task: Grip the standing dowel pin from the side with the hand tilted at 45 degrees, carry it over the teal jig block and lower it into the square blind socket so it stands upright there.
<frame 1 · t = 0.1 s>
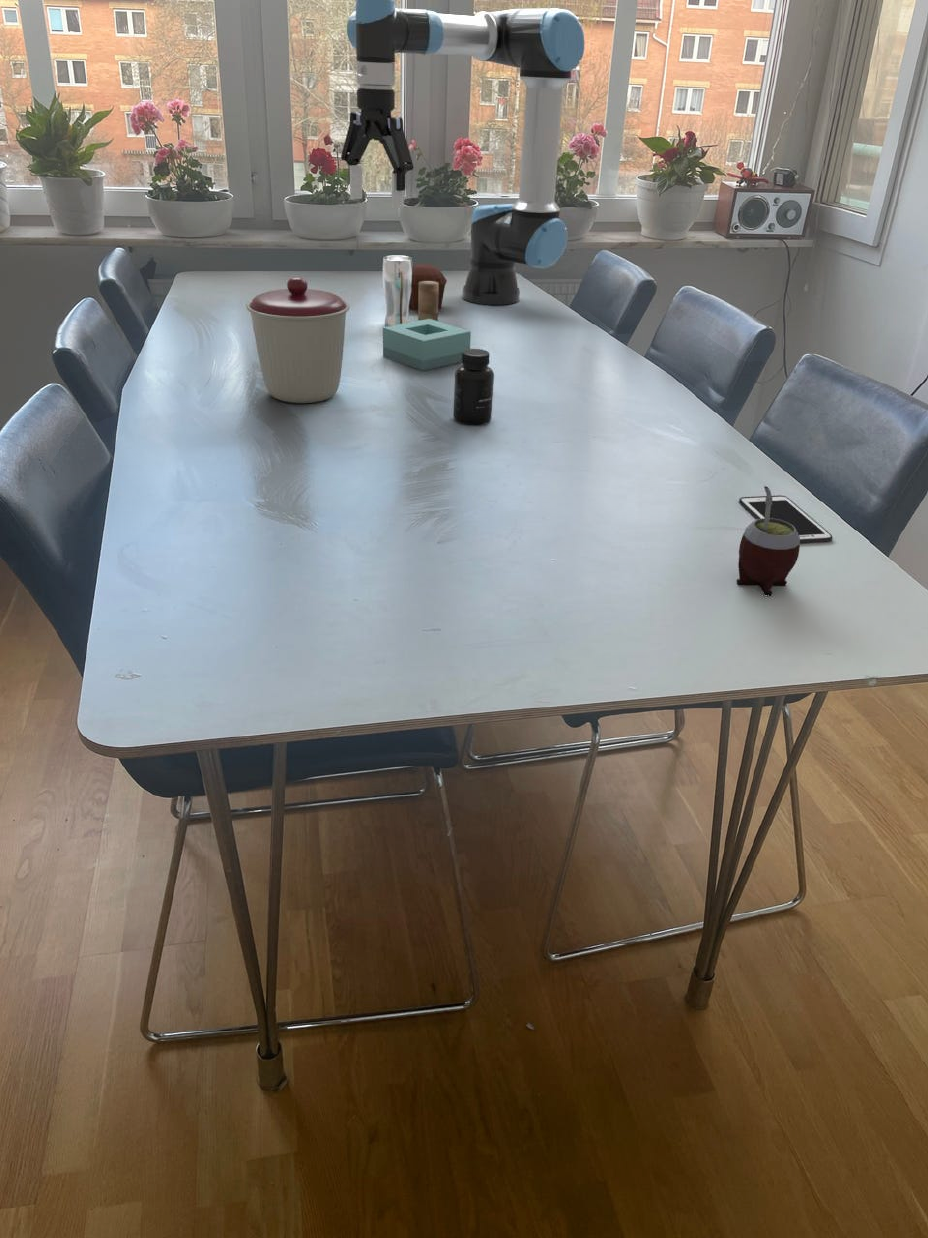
hand: (376, 203, 198), 28 cm above the table, tool pointing down, fingers open, 13 cm apart
supplement bottle: (472, 420, 168), on the table
muffin: (423, 307, 240), on the table
socket block: (426, 357, 200), on the table
dowel pin: (427, 337, 214), on the table
mate gourd: (760, 587, 119), on the table
cell phone: (782, 524, 136), on the table
canister: (303, 396, 176), on the table
beer glass: (397, 325, 223), on the table
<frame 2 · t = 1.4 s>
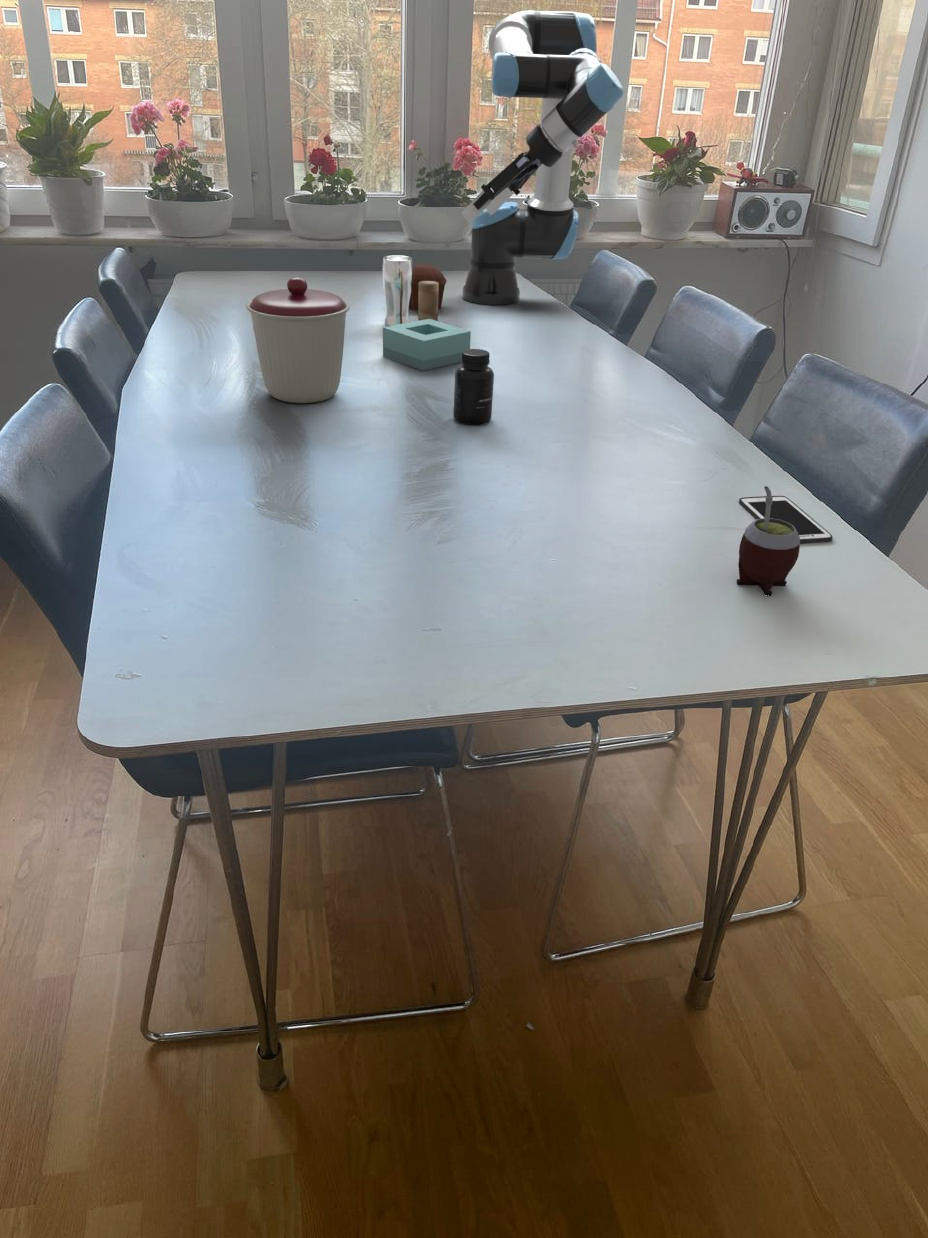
hand: (476, 214, 197), 27 cm above the table, tool tilted 45°, fingers open, 13 cm apart
nothing on the table moved.
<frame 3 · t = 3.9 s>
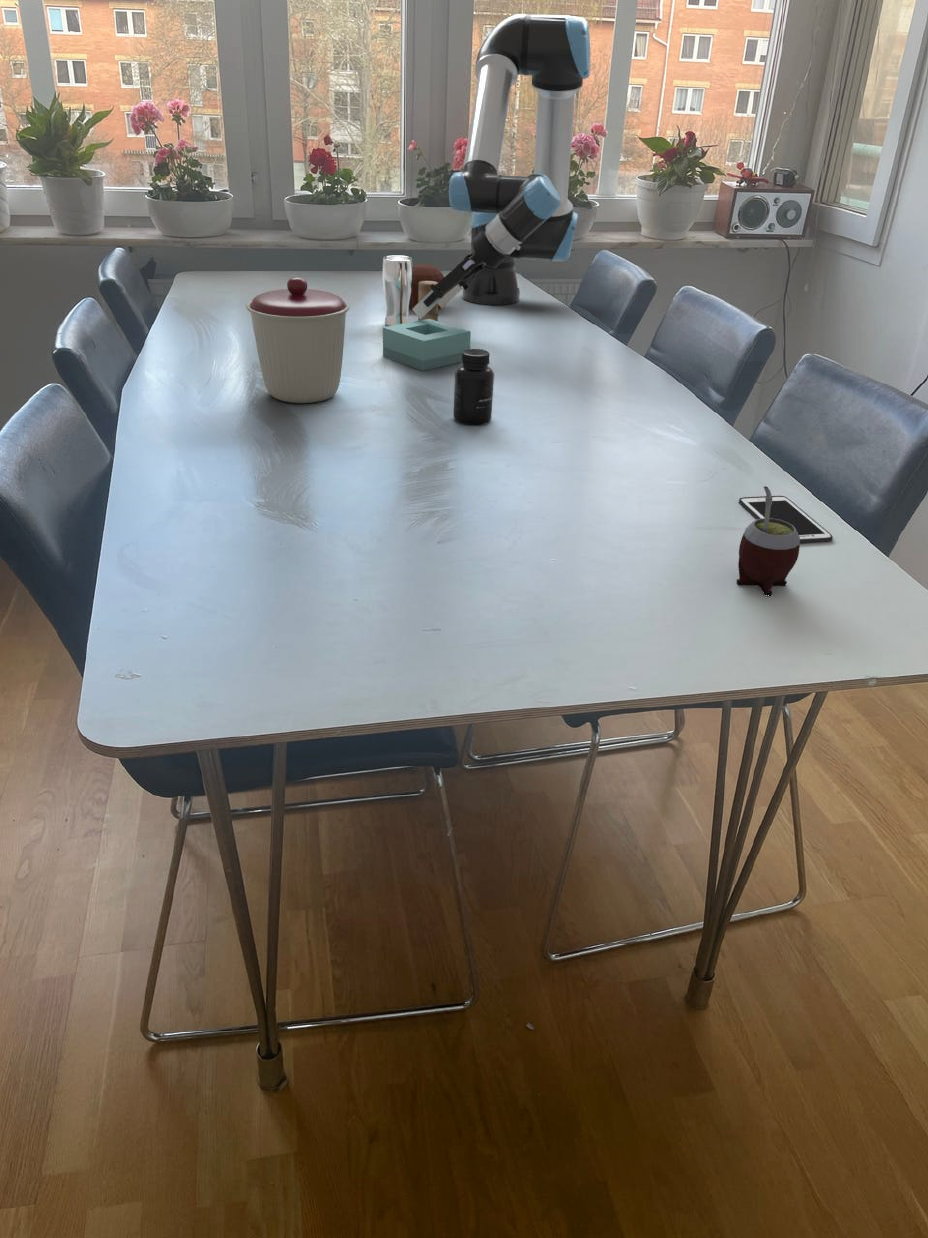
hand: (427, 308, 209), 7 cm above the table, tool tilted 45°, fingers open, 13 cm apart
nothing on the table moved.
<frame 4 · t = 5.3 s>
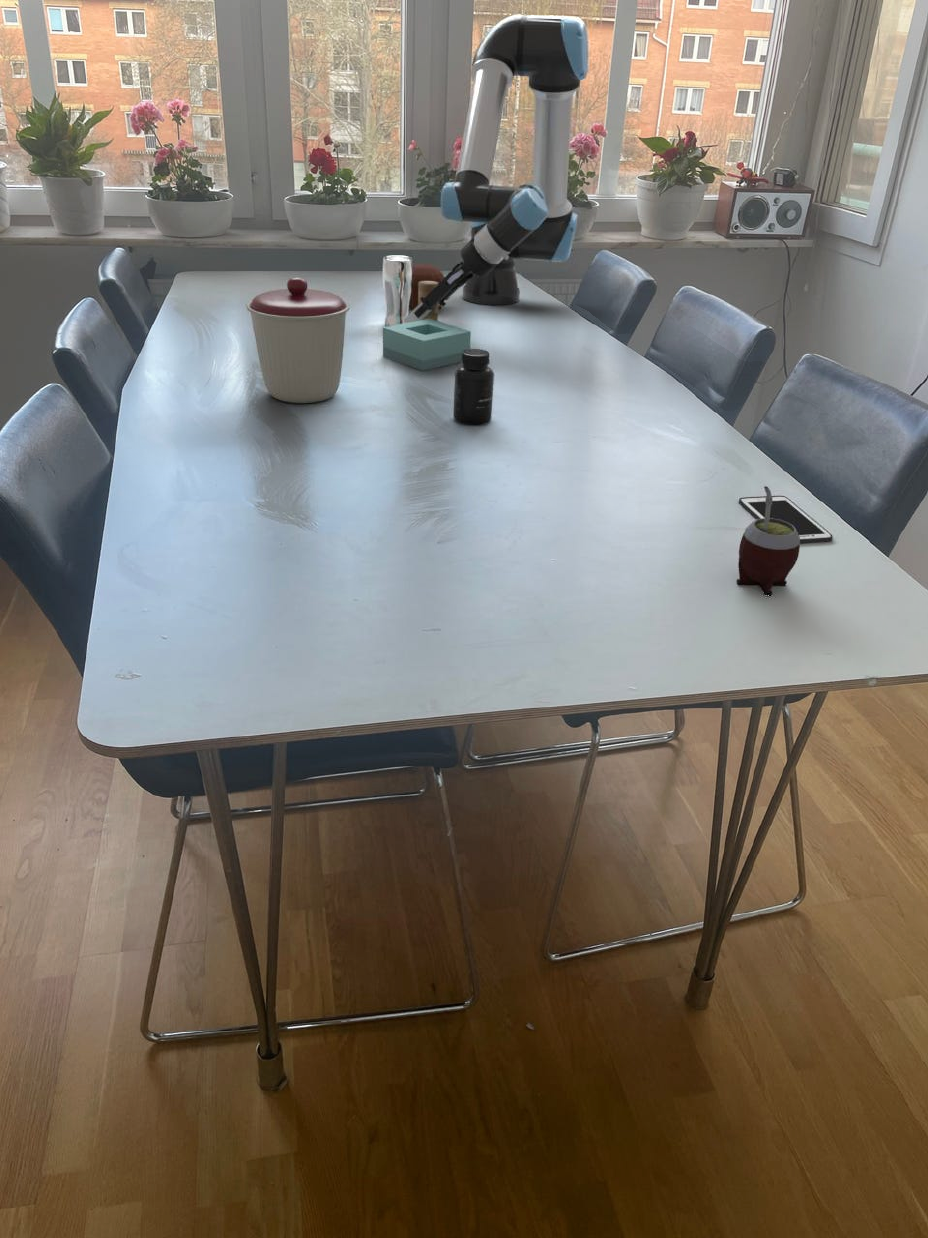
hand: (412, 321, 213), 3 cm above the table, tool tilted 45°, fingers closed on dowel pin, 4 cm apart
dowel pin: (427, 337, 214), on the table, touching gripper
everything else where it was.
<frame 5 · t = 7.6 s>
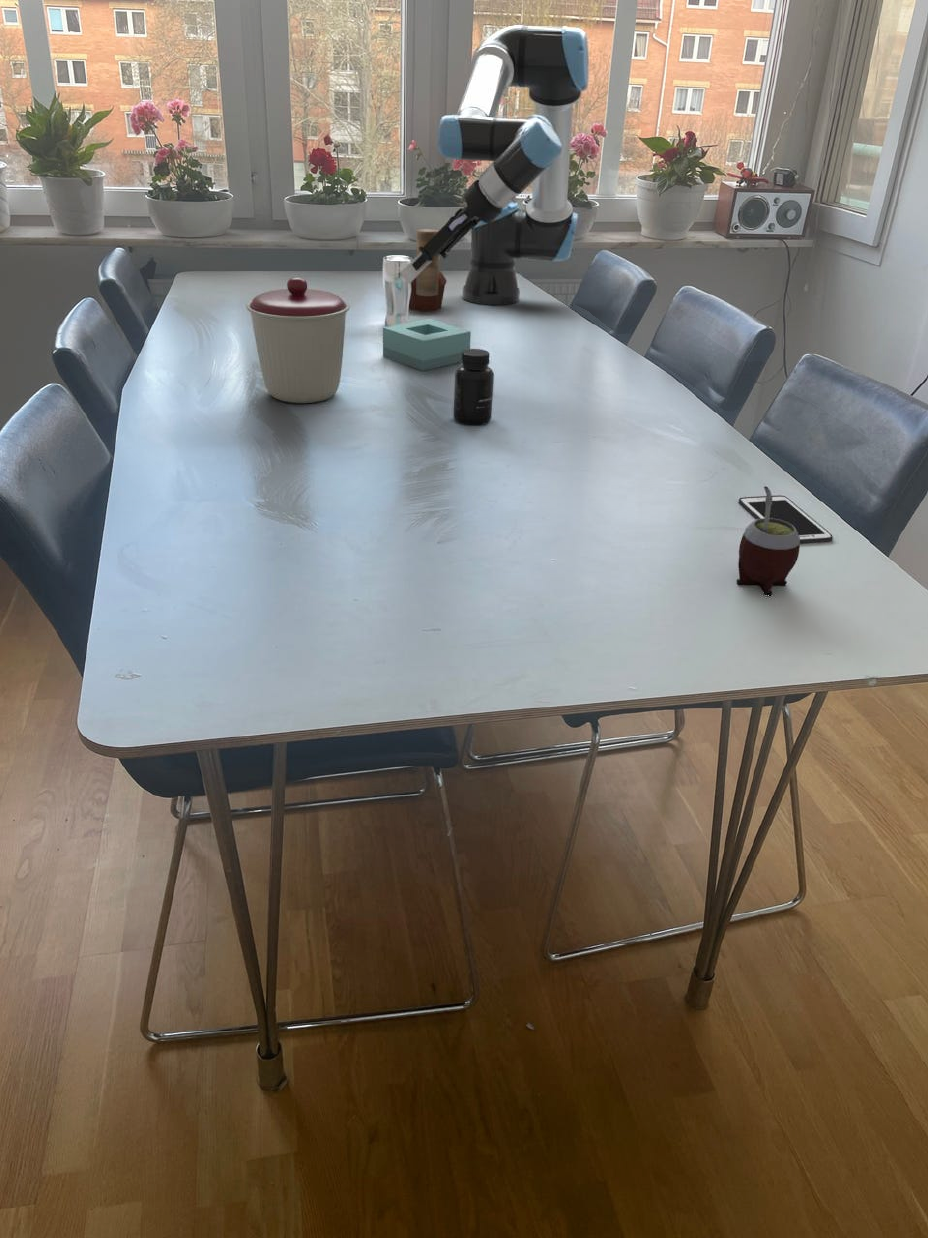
hand: (410, 275, 193), 16 cm above the table, tool tilted 45°, fingers closed on dowel pin, 4 cm apart
dowel pin: (427, 293, 193), point 13 cm above the table, touching gripper
everything else where it was.
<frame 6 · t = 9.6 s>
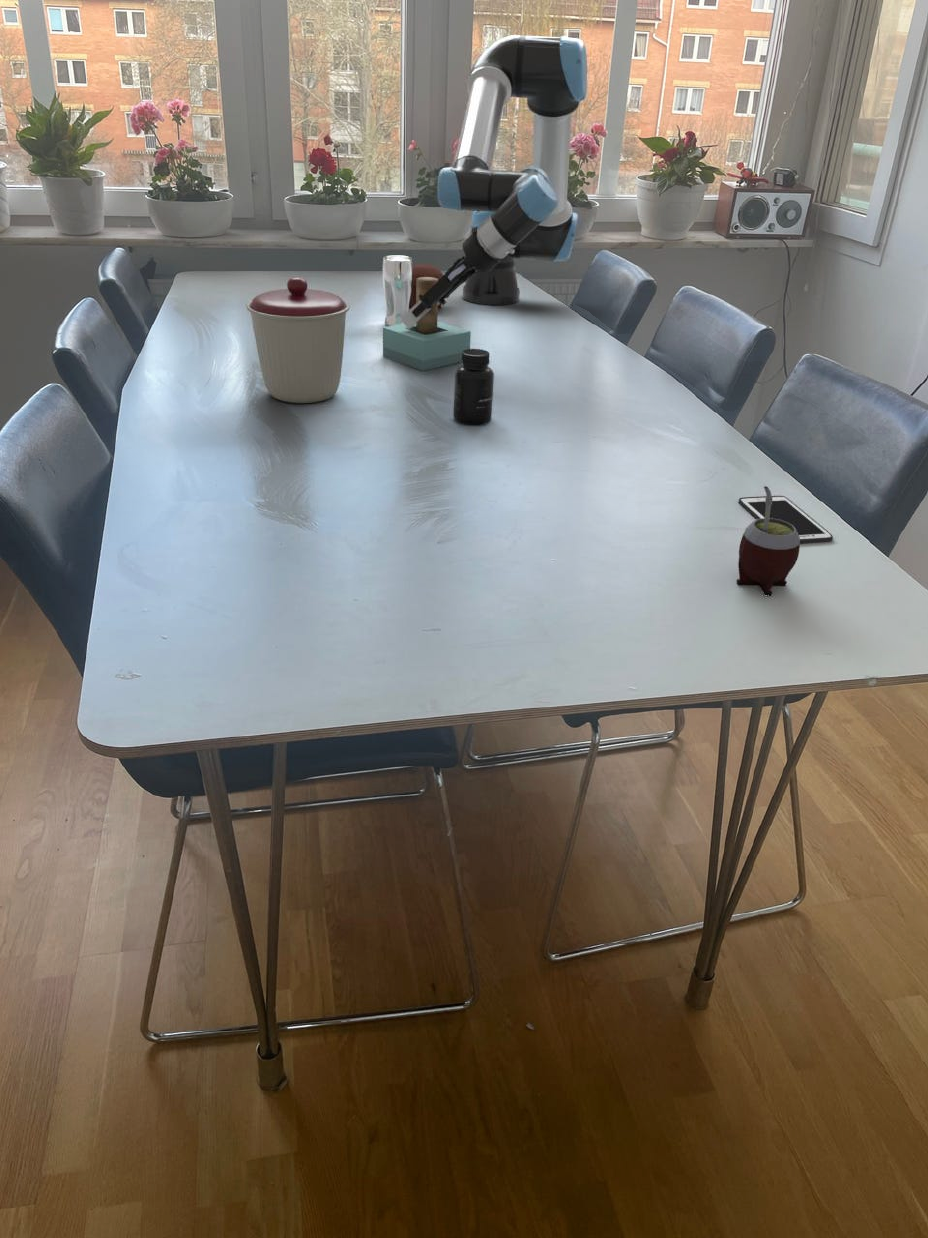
hand: (410, 321, 197), 7 cm above the table, tool tilted 45°, fingers closed on dowel pin, 4 cm apart
dowel pin: (426, 338, 198), point 4 cm above the table, touching gripper
everything else where it was.
when the fingers open (7 cm above the table, at t = 10.0 s): dowel pin drops 2 cm, resting on socket block.
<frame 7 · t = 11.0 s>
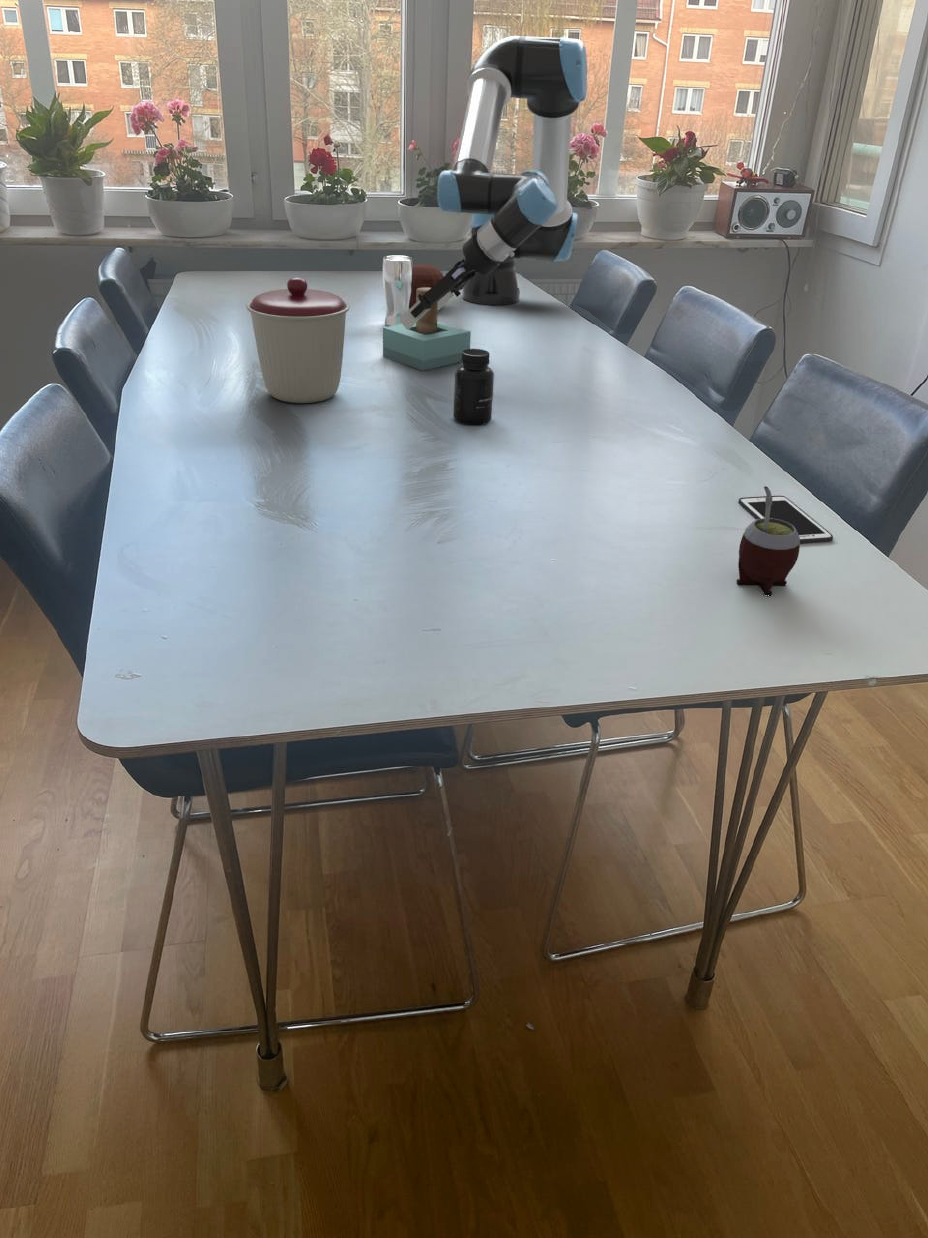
hand: (416, 317, 196), 8 cm above the table, tool tilted 45°, fingers open, 13 cm apart
dowel pin: (426, 348, 199), point 2 cm above the table, touching socket block
everything else where it was.
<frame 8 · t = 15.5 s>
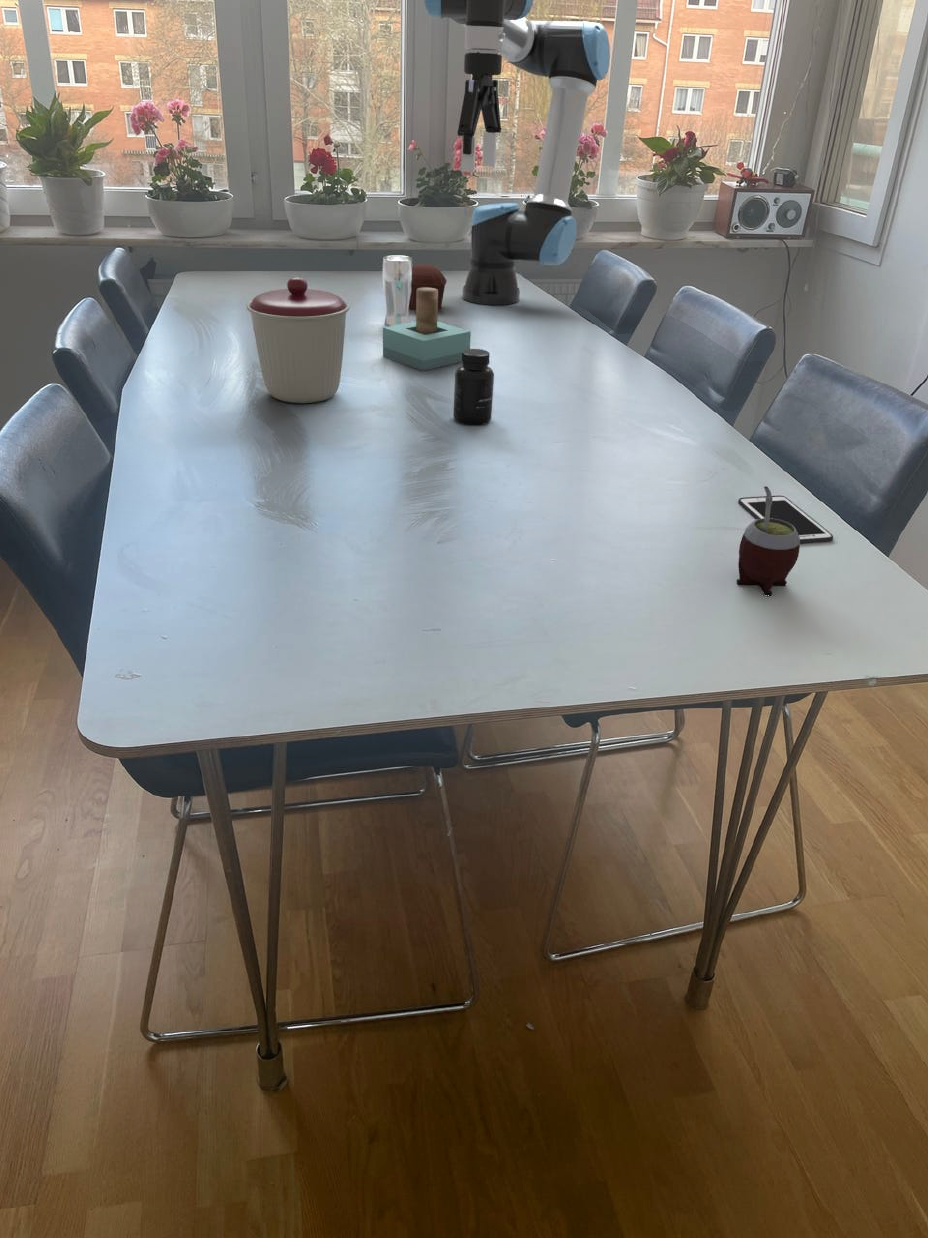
hand: (478, 169, 200), 35 cm above the table, tool pointing down, fingers open, 13 cm apart
nothing on the table moved.
at the end: dowel pin 0.1 cm off-centre on the socket block, point 2.0 cm above the socket block's base; dowel pin tilted 0°; the gripper is holding nothing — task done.
